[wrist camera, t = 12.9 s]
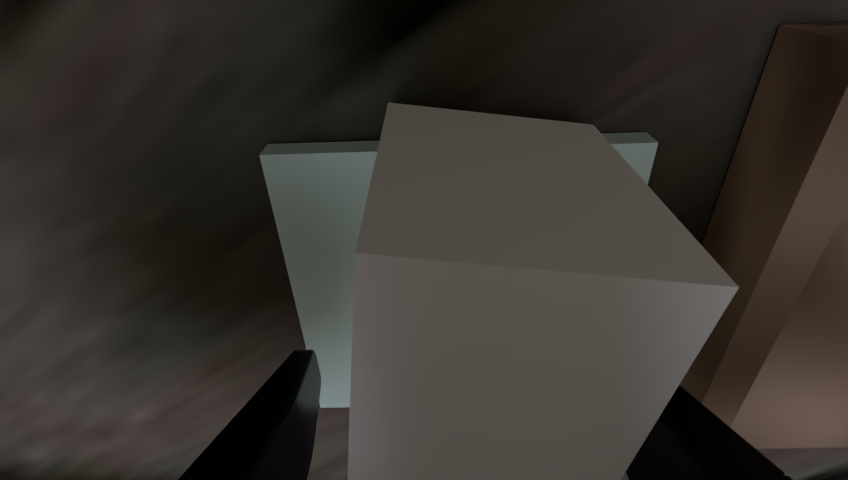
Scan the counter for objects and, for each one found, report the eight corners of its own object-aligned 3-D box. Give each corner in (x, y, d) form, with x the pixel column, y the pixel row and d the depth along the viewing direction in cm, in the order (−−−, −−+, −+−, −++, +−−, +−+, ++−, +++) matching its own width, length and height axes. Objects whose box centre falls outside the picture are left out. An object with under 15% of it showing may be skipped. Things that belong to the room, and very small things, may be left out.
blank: (388, 102, 9) (354, 253, 5) (592, 124, 9) (739, 286, 5) (372, 331, 12) (345, 541, 8) (523, 343, 12) (574, 553, 8)
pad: (267, 144, 10) (259, 154, 9) (646, 132, 10) (658, 142, 9) (324, 391, 14) (320, 407, 14) (586, 385, 14) (592, 401, 14)
